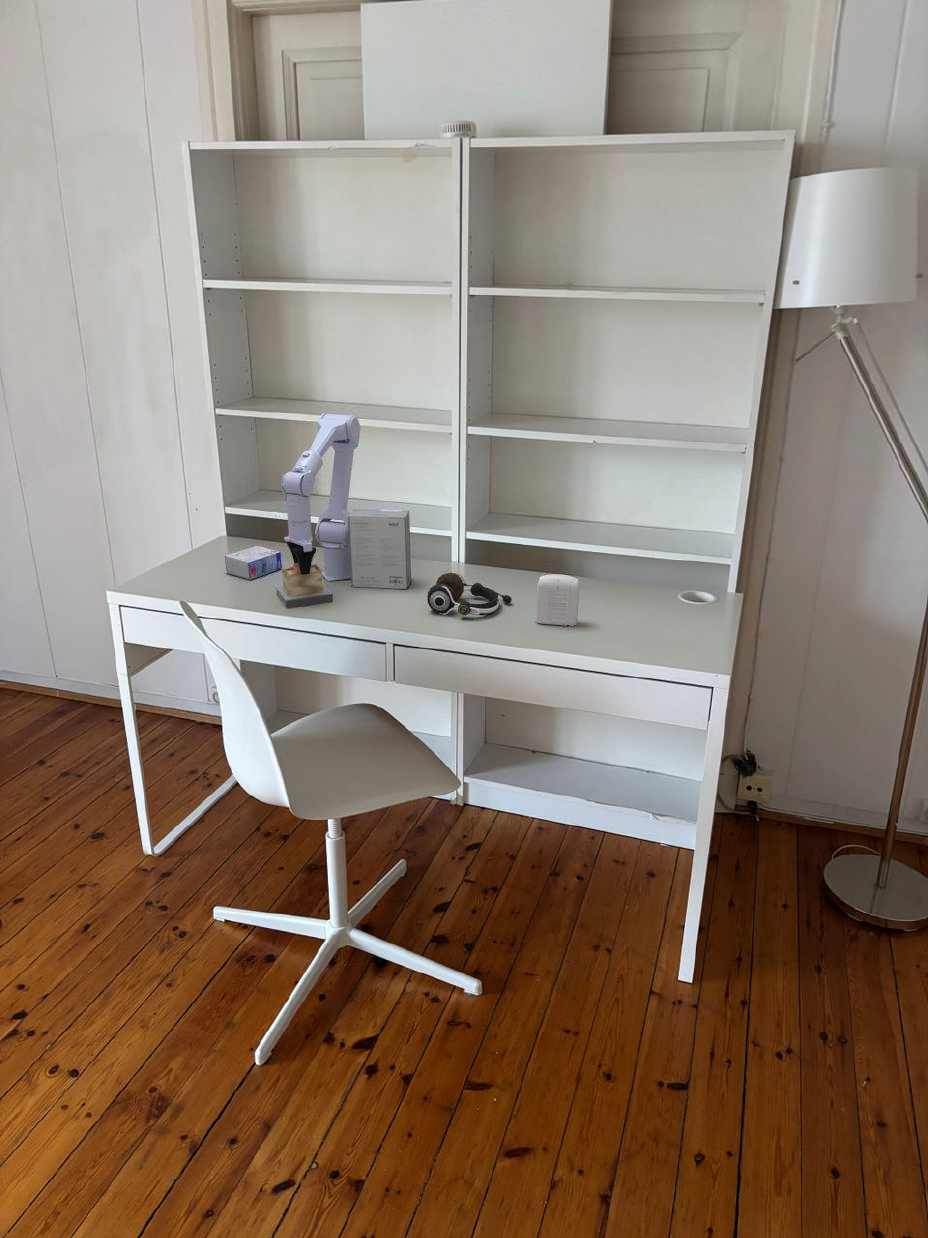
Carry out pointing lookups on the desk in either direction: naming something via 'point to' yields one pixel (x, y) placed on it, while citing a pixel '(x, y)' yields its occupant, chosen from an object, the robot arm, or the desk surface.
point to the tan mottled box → (302, 581)
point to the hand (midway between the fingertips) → (302, 570)
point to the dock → (304, 598)
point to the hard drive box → (380, 548)
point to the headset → (452, 589)
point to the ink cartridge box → (253, 562)
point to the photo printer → (557, 600)
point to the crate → (296, 568)
